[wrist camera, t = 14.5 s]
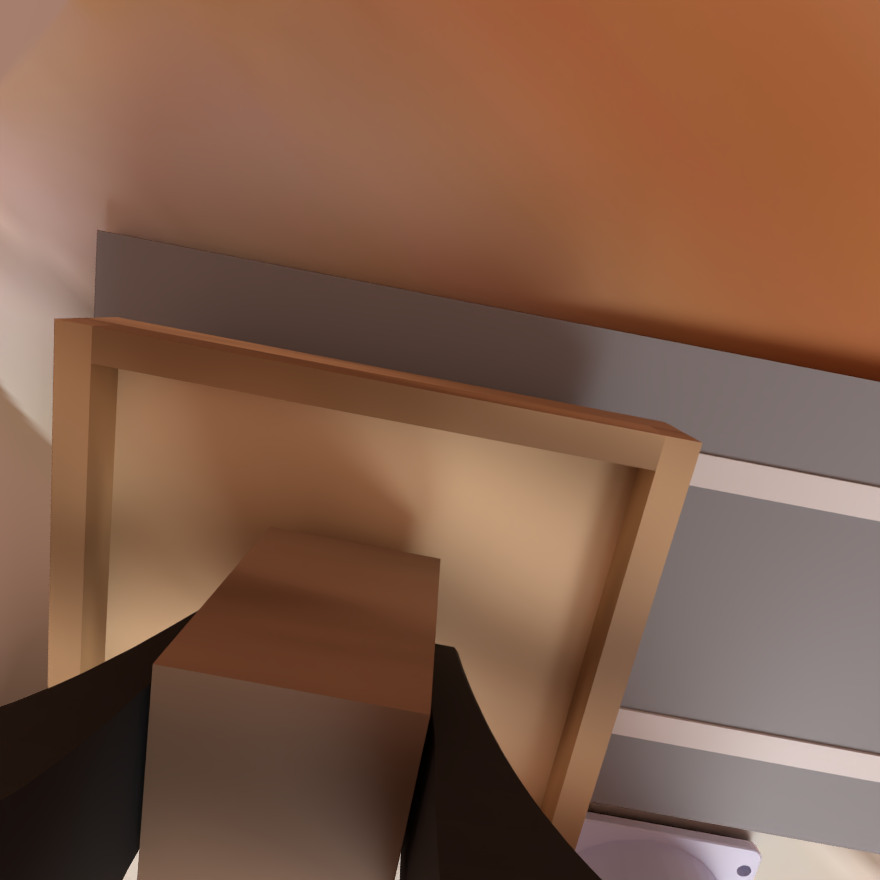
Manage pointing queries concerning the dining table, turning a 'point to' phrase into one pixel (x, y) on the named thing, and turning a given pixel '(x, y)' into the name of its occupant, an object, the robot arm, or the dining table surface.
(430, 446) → the tray
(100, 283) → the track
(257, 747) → the block
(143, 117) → the dining table surface
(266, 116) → the dining table surface
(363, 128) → the dining table surface
